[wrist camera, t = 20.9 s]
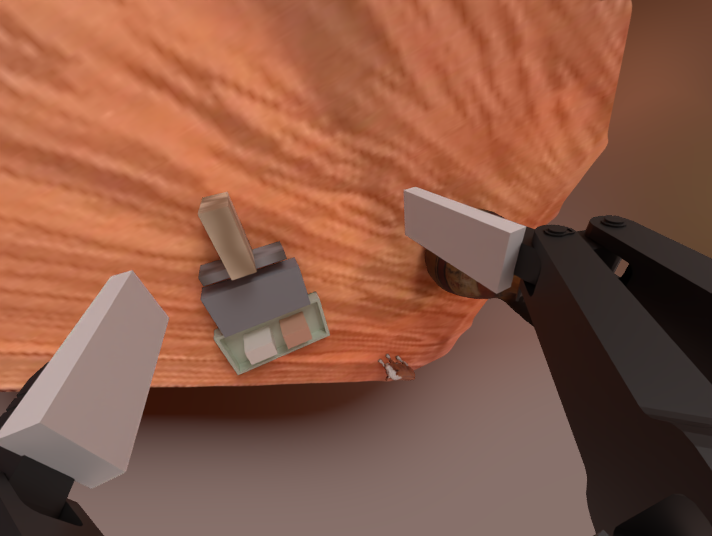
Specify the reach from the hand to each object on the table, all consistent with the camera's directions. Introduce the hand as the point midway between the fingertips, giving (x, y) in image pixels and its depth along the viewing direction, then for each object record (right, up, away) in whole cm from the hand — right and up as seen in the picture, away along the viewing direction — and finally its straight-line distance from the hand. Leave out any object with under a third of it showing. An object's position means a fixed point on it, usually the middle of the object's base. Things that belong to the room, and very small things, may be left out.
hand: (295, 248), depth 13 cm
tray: (-14, -14, +40) cm, 45 cm away
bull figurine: (+13, -28, +62) cm, 69 cm away
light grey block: (-16, -14, +36) cm, 42 cm away
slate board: (-15, -5, +35) cm, 38 cm away
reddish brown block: (-9, -12, +38) cm, 41 cm away
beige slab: (-17, +5, +28) cm, 33 cm away
